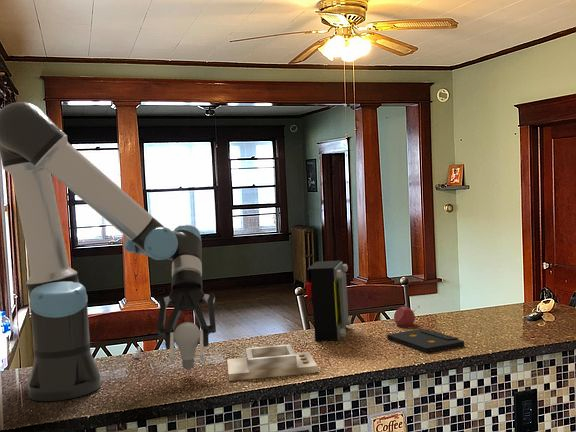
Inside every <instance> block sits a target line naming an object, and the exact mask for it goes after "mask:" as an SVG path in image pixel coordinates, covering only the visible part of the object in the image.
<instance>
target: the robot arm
mask: <svg viewBox="0 0 576 432" xmlns="http://www.w3.org/2000/svg"><path fill="white" fill-rule="evenodd" d="M0 159H1V160H0V161H1V163H2V169H3V170H5V172H7V173H9V174H10V175H11V179H12V183H13V188H14V193H15V198H16V203H17V204H16V205H17V209H18V213H19V218H20V224H21V227H22V233H23V239H24V242H25V248H26V252H27V258H28V263H29V269H30V272H31V274H30V276H29V278H28V279H27V280H26V282H25V283H26V288H27V293H28V298H29V307H30V315H31V328H32V342H33V355H34V356H33V357H34V359H33V360H34V362H33V365H32V369H31V373H30V377H29V380H28V384H27V392H28V393H27V395H28V398H29V399H31V400H33V401H36V402H38V401H39V402H54V401H55V402H56V401H64V400H70V399H75V398H80V397H83V396H86V395H89V394H91V393H93V392H95V391H97V390H98V389H100V388H101V386H102V382H101V381H102V380H101V374H100V371H99V369H98V366H97V364H96V361H95V359H94V357H93V354H92V351H91V340H90V328H89V327H90V325H89V313H88V311H89V310H88V301H89V299H88V297H89V296H88V294H87V289H86V287H85V286H84V285H83V284H82V283H80V280H79V276H78V271H77V270H75V269H74V268H72V267H70V263H69V259H68V253H67V248H66V243H65V238H64V234H63V228H62V224H61V218H60V213H59V207H58V203H57V197H56V192H55V187H54V181H53V178H52V176H54V178H55V179H57V180H59V182H60V183H62V184H63V185H64V186H65V187H67V188H68V189H69V190H70V191H71V192H73V194H74V195H76V196H77V197H78V198H79V199H81V200H82V201H83V202H84V203H85V204H87V205H88V206H89V207H90V208H91V209H92V210H94V211H95V212H96V213H97V214H99V216H101V217H102V218H103V219H105V221H107V222H108V223H109V224H111V225H112V226H113V227H114V228H115V229H116V230H118V231H119V232H120V233H121V234H122V235H123V236H125V240H124V250H125V251H126V252H128V253H132V254H134V255H142V256H146V257H149V258H151V259H152V260H155V261H164V260H170V261H171V292H170V293H169V295H168V296H165V297H164V296H162V295H160V296H158V298H157V299H158V304H159V314H158V320H157V321H158V322H157V334H158V337H164V338H165V340H164V341H165V342H164V345H165V346H164V347H165V349H166V350H169V360H170V364H171V365H174V364H175V345H176V343H175V341H174V331H175V329H176V327H177V323H178V320H179V318H180V316H181V314H182V312H185V311H191V312H192V311H193V313H194V315H195V317H196V319H197V322H198V325H199V330H200V341H199V358H200V362H205V352H204V351H205V348H207V347H209V344H210V343H209V335H210V334H215V333H217V332H216V331H217V327H216V318H215V317H216V316H215V308H214V305H215V303H216V297H215V295H216V294H215V293H214V292H211V293H210V294H207V293H205V292H204V291H203V264H202V261H203V260H202V247H203V245H202V244H203V243H202V236H201V232H200V230H199V229H198V228H197V227H196V226H194V225H191V224H185V225H182V224H181V225H178V226H177V227H175V228H174V230H171V229H170V228H168V227H166V226H165V225H163V224H162V223H161V222H159V221H158V219H156V218H155V217H153V215H151V214H150V213H149V212H148V211H147V210H146V209H145V208H144V207H143V206H141V205H140V204H139V203H138V202H137V201H136V200H134V199H133V198H132V197H131V196H130V195H129V194H127V192H125V191H124V190H123V189H122V188H121V187H120V186H118V185H117V184H116V183H115V182H114V181H113V180H112V179H110V178H109V177H108V176H107V175H106V174H104V172H102V171H101V170H100V169H99V168H98V167H97V166H95V164H93V163H92V162H91V161H90V160H89V159H87V157H85V156H84V155H83V154H82V153H81V152H80V151H78V149H76V148H75V147H74V146H73V145H71V144H70V143H69V141H68V135H67V134H66V133H65V132H64V131H63V130H61V128H59V127H58V126H57V125H56V124H55V122H54V121H53V120H52V119H51V118H50V117H49V116H48V115H47V114H46V112H45V111H43V110H42V109H41V108H39V107H38V106H36V105H34V104H32V103H30V102H26V101H25V102H24V101H16V102H12V103H8V104H6V105H5V106H4V107H2V108H1V109H0ZM203 301H205V304H207V307H208V309H207V310H208V316H209V325H208V324H207V322H206V320H205V318H204V315H203V312H202V310H201V307H200V304H201V303H202V302H203ZM170 302H171V304H172V305H173V311H172V312H171V315H170V318H169V320H168V323H167V325H166V316H167V315H166V314H167V307H168V306H169V303H170ZM165 325H166V327H165Z"/></svg>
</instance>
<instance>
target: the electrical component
mask: <svg viewBox="0 0 576 432" xmlns="http://www.w3.org/2000/svg"><path fill="white" fill-rule="evenodd" d="M348 270H349V266H348V264H347V263H343V261H342V260H328V261H327V260H325V261H324V260H321V261H316V262H314V263H313V264H311V265H310V266H309V267H307V268H306V279H307V282H305V283H304V285H305V286H304V287H305V292H306V298H310V299H311V305H312V310H313V328H314V329H313V330H314V342H338V341H340V340H341V338H342V337H346V335H347V330H346V328H347V326H349V327H350V326H351V324H352V320H351V318H350V317H349V305H348V302H349V301H348V285H347V273H346V272H348Z"/></svg>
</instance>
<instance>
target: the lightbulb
mask: <svg viewBox="0 0 576 432" xmlns="http://www.w3.org/2000/svg"><path fill="white" fill-rule="evenodd" d="M200 330H201V329H200V327H198V326H197V325H196V324H195V323H194V322H191V321H190V322H189V321H185V322H182V323H180V324H179V325H177V326H176V327H175V329H174V331H173V332H174V341H175V345H176V347H177V348H178V350H179V353H180V359H181V360H182V361H181V363H182V367H183V369H185V370H186V371H190V370H191V369H192V368H194V367H195V364H194V363H195V357H196V350H197V346H198V345H199V344H200Z"/></svg>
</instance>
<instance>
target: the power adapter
mask: <svg viewBox="0 0 576 432" xmlns="http://www.w3.org/2000/svg"><path fill="white" fill-rule="evenodd" d="M134 352H135V353H132V358H133V357H134V358H137V359H142V357H143V356H142V349H141V347H140V346H137V347H135V350H134ZM134 358H133V359H134Z"/></svg>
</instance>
